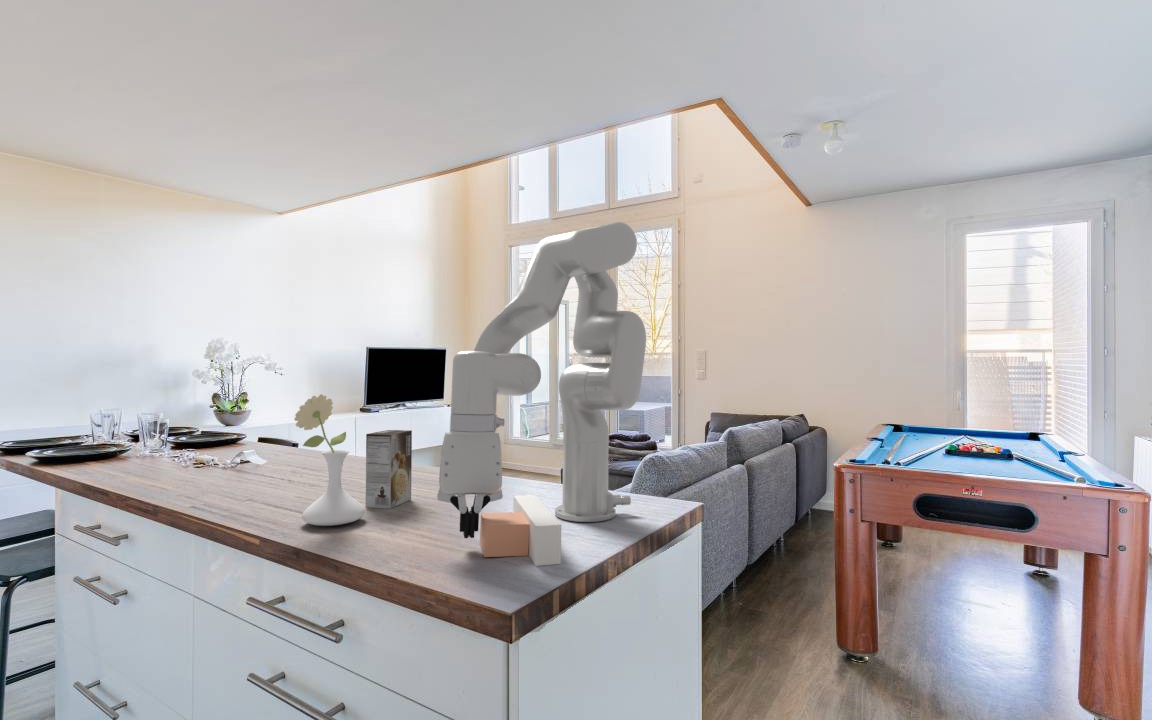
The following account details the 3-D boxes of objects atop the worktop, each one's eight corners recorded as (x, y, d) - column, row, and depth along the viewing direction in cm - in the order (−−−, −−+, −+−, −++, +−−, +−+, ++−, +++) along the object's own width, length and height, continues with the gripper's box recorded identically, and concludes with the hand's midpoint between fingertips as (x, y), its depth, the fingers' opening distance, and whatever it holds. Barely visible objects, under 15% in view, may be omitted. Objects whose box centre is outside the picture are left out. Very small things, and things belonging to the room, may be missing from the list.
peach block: (519, 541, 98) (521, 512, 98) (528, 555, 90) (529, 524, 90) (479, 542, 96) (481, 513, 96) (484, 557, 88) (485, 525, 88)
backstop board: (533, 526, 107) (534, 494, 108) (560, 563, 86) (561, 524, 86) (513, 527, 106) (513, 495, 106) (535, 565, 85) (535, 526, 85)
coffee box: (386, 498, 130) (387, 429, 131) (411, 500, 129) (413, 430, 129) (364, 507, 121) (365, 433, 122) (391, 509, 120) (392, 434, 120)
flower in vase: (351, 512, 117) (354, 392, 117) (375, 523, 108) (377, 394, 109) (283, 523, 108) (286, 393, 108) (303, 536, 99) (306, 395, 100)
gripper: (514, 424, 99) (510, 528, 98) (427, 422, 95) (422, 531, 94) (520, 427, 92) (516, 540, 91) (427, 426, 88) (421, 544, 87)
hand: (468, 535), depth 93 cm, fingers closed
